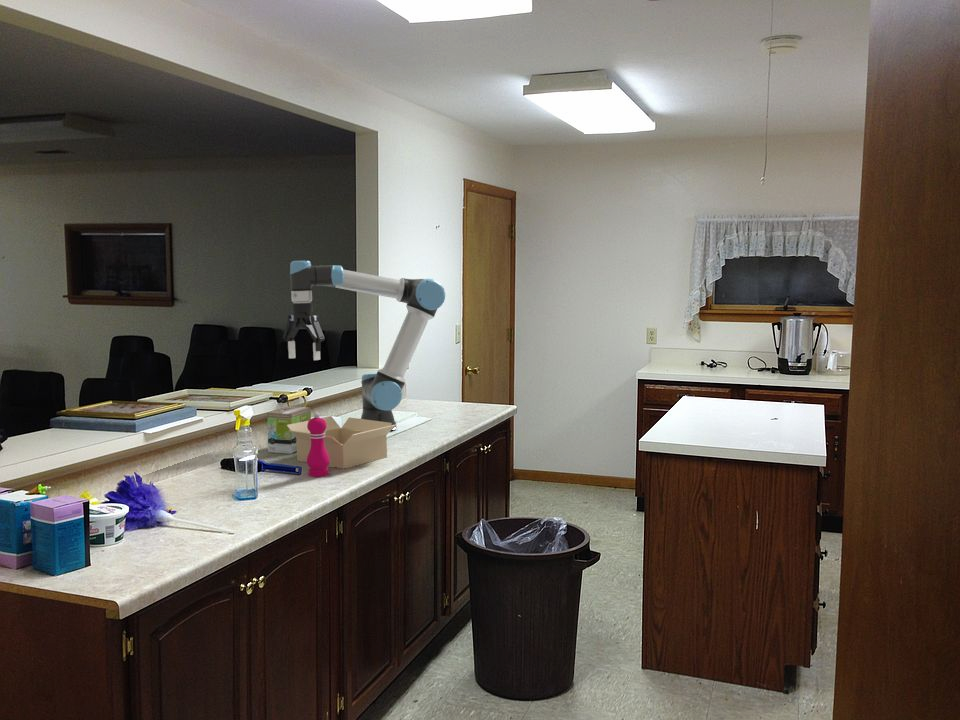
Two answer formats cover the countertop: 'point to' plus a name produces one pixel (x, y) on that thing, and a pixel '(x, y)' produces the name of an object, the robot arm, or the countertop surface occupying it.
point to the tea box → (285, 428)
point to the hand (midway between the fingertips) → (304, 359)
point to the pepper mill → (317, 448)
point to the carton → (346, 441)
